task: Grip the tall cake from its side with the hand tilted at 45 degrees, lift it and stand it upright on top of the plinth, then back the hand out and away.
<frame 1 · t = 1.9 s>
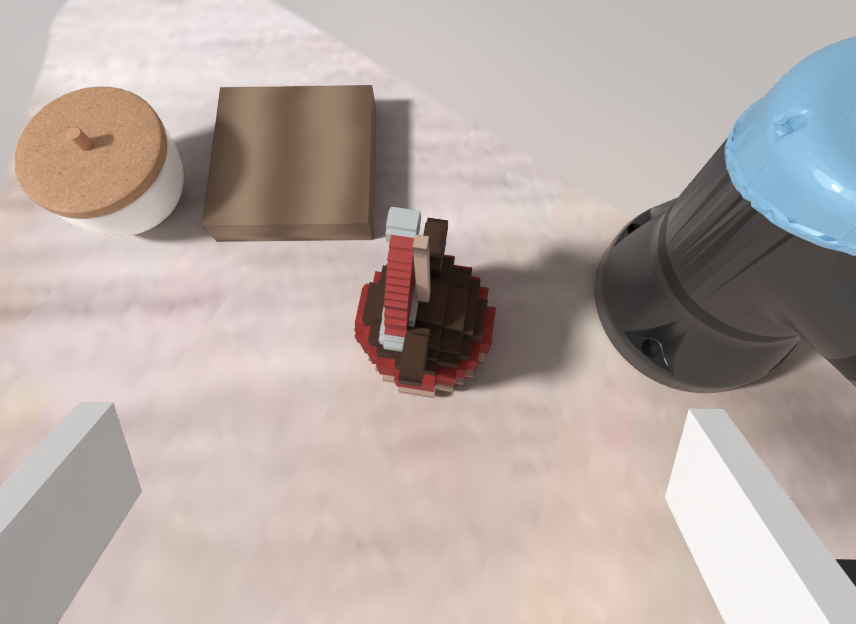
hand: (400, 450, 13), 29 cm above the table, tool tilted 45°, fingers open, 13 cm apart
cake: (426, 338, 44), on the table
plinth: (299, 172, 48), on the table
lidded jar: (143, 200, 48), on the table
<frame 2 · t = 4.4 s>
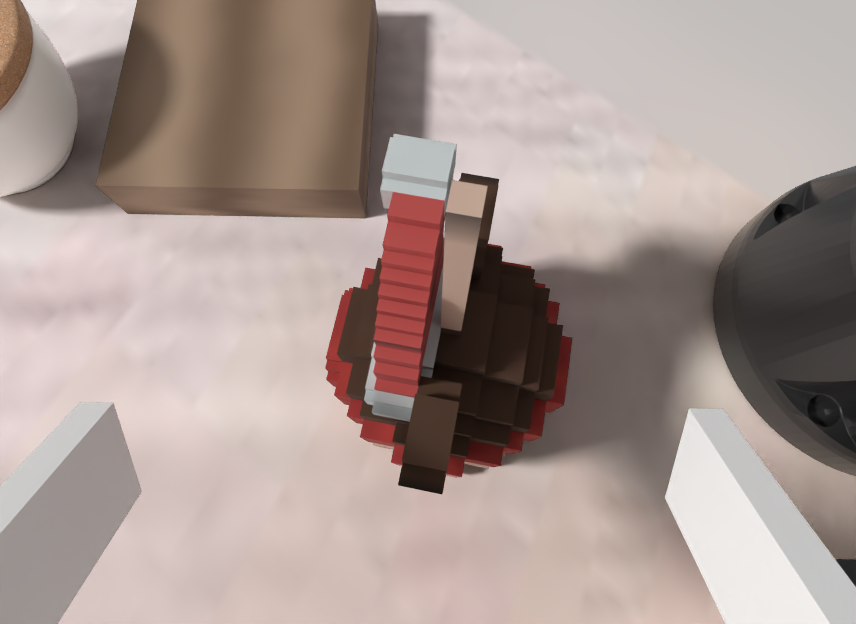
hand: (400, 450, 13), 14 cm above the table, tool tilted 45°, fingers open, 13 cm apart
cake: (446, 376, 28), on the table
plinth: (259, 113, 32), on the table
lidded jar: (22, 148, 32), on the table
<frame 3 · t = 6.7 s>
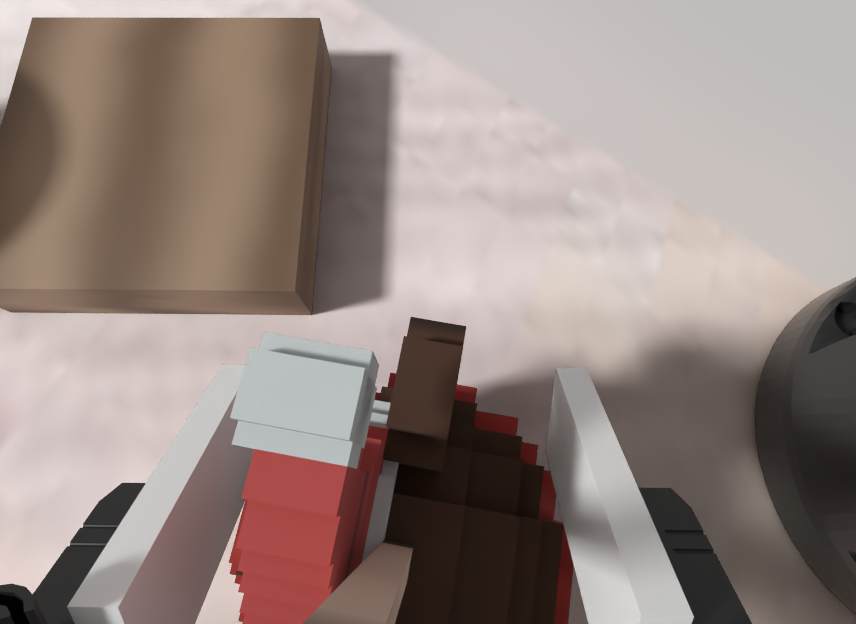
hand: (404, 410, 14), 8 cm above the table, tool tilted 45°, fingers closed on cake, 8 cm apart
cake: (412, 528, 21), on the table, touching gripper
plinth: (183, 180, 26), on the table
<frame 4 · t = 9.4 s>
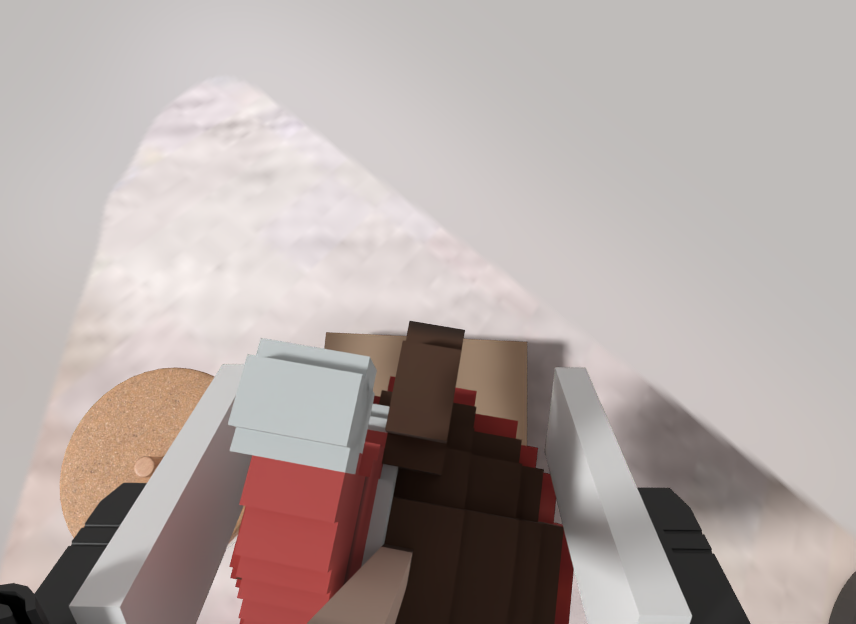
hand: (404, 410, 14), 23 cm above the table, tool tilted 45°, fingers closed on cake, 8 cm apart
cake: (413, 531, 21), point 15 cm above the table, touching gripper
plinth: (421, 442, 37), on the table
lidded jar: (217, 469, 37), on the table
when the fingers open (12 cm above the table, at t = 12.2 s): cake drops 1 cm, resting on plinth.
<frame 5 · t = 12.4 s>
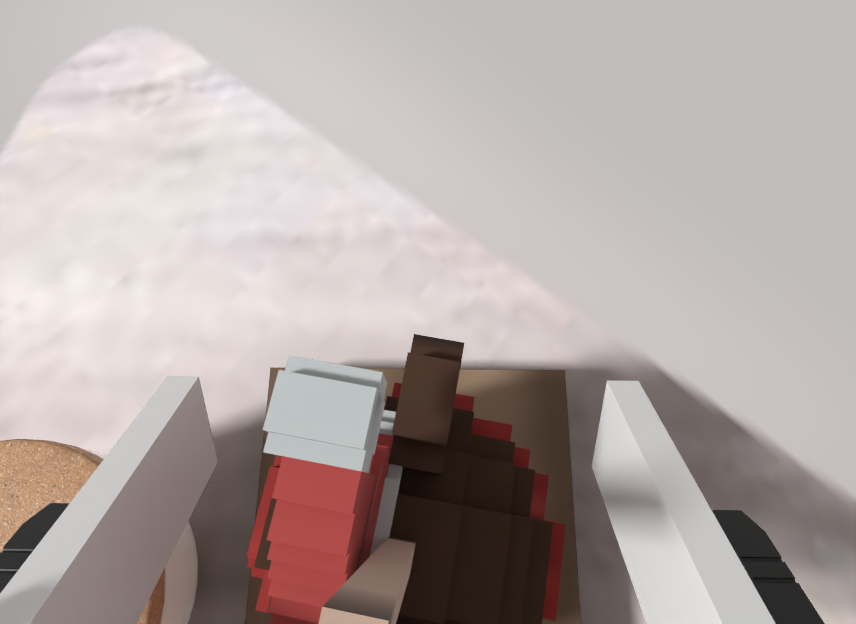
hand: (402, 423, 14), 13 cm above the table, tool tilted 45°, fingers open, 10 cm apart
cake: (413, 527, 23), point 3 cm above the table, touching plinth
plinth: (416, 522, 25), on the table
lidded jar: (118, 574, 25), on the table
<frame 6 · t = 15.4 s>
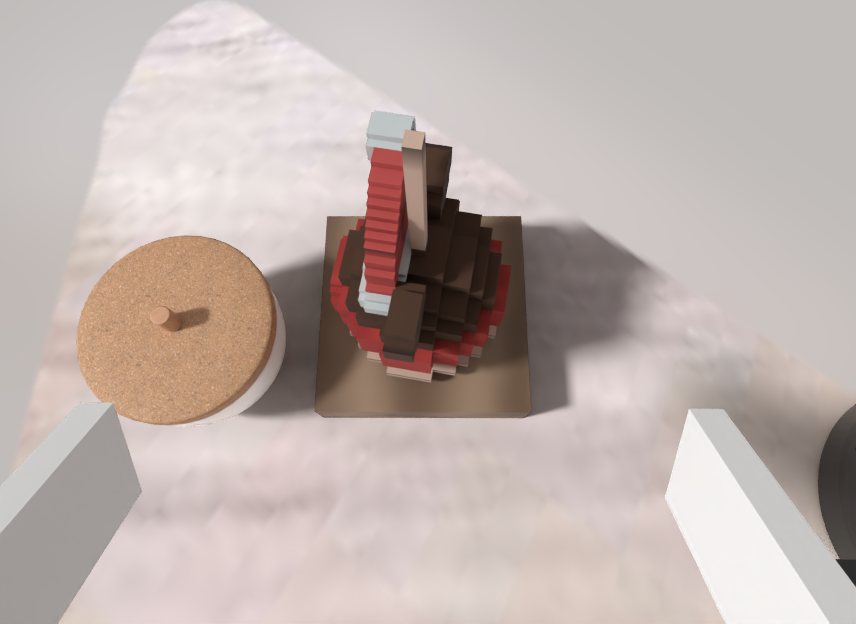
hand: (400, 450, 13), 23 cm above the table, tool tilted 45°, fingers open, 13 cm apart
cake: (423, 310, 35), point 3 cm above the table, touching plinth
plinth: (424, 322, 38), on the table
lidded jar: (226, 356, 38), on the table
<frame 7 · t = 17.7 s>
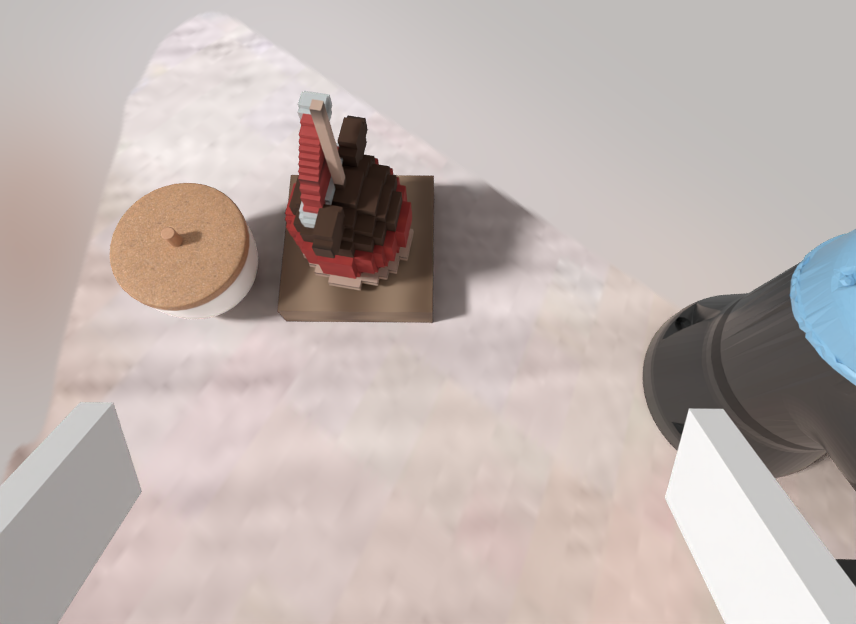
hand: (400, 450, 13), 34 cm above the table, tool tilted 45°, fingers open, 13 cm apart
cake: (358, 242, 48), point 3 cm above the table, touching plinth
plinth: (362, 254, 51), on the table
lidded jar: (215, 278, 51), on the table
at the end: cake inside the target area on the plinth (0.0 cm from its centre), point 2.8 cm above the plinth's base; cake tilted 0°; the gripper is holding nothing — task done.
